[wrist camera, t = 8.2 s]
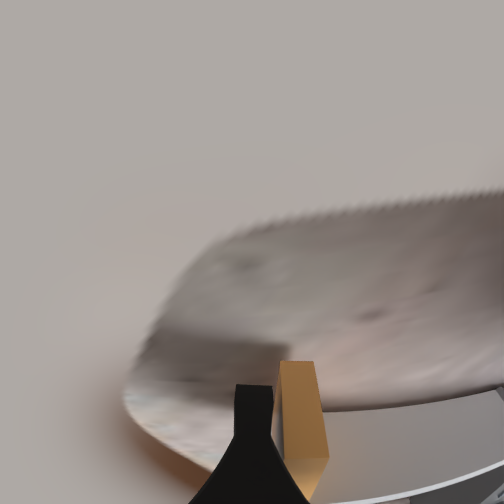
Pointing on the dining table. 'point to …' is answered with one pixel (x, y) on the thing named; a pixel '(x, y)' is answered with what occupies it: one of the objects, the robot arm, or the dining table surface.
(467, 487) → the camera body
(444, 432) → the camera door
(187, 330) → the dining table surface
